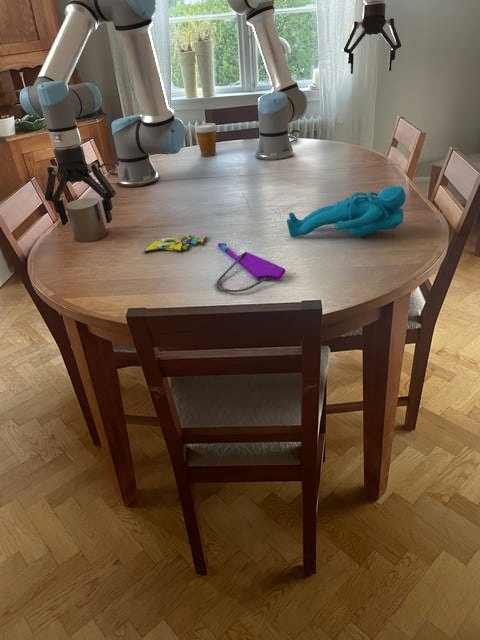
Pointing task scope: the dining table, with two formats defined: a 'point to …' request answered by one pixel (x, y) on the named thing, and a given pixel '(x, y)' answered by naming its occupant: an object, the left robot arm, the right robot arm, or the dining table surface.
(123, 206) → the dining table surface
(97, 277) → the dining table surface
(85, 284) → the dining table surface
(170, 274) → the dining table surface
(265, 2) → the right robot arm
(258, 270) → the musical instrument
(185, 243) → the toy
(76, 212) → the canister
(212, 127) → the disposable coffee cup
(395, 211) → the toy
